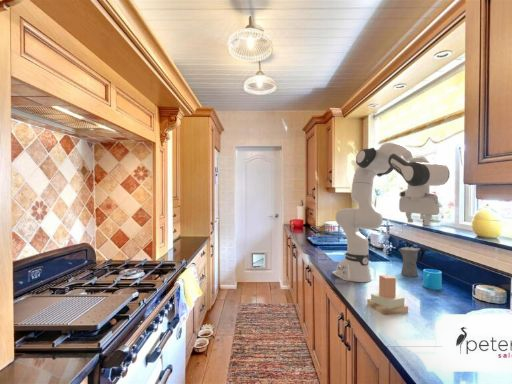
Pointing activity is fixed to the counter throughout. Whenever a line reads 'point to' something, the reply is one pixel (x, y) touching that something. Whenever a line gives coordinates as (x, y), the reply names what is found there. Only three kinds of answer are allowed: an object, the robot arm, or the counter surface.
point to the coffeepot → (410, 260)
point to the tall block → (387, 286)
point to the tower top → (387, 301)
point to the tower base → (386, 310)
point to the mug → (432, 279)
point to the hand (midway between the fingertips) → (418, 223)
